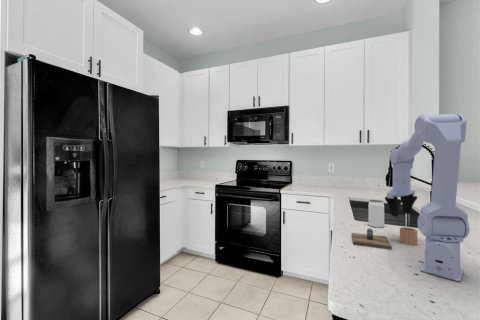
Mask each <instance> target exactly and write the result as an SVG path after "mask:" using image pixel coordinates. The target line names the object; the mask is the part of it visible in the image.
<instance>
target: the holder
mask: <svg viewBox="0 0 480 320" xmlns="http://www.w3.org/2000/svg"><path fill="white" fill-rule="evenodd" d="M351 239H352V244H353V246H354V245H355V246H360V247H370V248H378V249H384V250H385V249H386V250H393V246H392V244H391V243H390V242H389V240H388V238H387V236H384V235H376V234H374V231H373V229H372V228H367V229H366V234H365V233H359V232H358V233H356V232H351Z"/></svg>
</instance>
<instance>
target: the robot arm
mask: <svg viewBox="0 0 480 320" xmlns="http://www.w3.org/2000/svg"><path fill="white" fill-rule="evenodd" d="M467 123H468V122H467V119H466V118H465V117H464V116H463V114H461V113H459V112H458V113H446V114H442V113H441V114H420V115H418V116H417V118H416V119H415V121H414V132H413V134H412V135H411V137H410V138H406V139H405V140H403V142H402V143H401V144H400V145H399V147H398V148H396V149H395V148H392V149H391V151H390V154H389V156H390V157H389V158H390V159H389V160H390V163H391V165H392V189H390V190H389V192H386V196H385V197H384V200H385V202H386V203H387V205H388V207H389V212H390V215H391V216H392V217H396V218H397V217H398V218H399V214H400V208H401V205H402V211H403V214H406V215H411V212H412V209H413V206H414V205H415V202H416V201H417V199H418V196H417V195H416V190H415V189H411V182H412V181H411V179H412V177H411V176H412V174H411V173H412V169H413V167H414V166H413V165H414V162H415V156H416V155H417V154H418V153H420V151H422V148H423V145H422V144H424V143H427V144H430V145H432V146H433V147H434V154H433V155H434V156H433V157H434V158H433V171H432V183H431V198H430V202H429V203H427V204H424V206H423V205H422V207H421V208H420V211H419V215H418V217H417V222H416V223H417V228H418V230H419V233H421V234H422V235H423V236H424V237H425V249H424V263H423V265H422V267H421V268H420V271H421V272H424V273H428V274H431V275H435V276H439V277H442V278H446V279H449V280H452V281H455V282H461V281H462V278H463V277H462V276H463V273H464V268H462V267H461V242H464V239H466V238H467V237H468V235H469V234H470V232H471V231H470V229H471V228H470V224H469V219H468V217H469V215H468V213H466V212H465V210H463V208H460V207H459V206H458V205H456V204H457V192H458V182H459V181H458V180H459V170H460V159H461V148H462V147H461V146H462V144H463V143H465V141H466V133H467ZM399 198H400V199H399Z"/></svg>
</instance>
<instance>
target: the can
mask: <svg viewBox="0 0 480 320" xmlns="http://www.w3.org/2000/svg"><path fill="white" fill-rule="evenodd" d="M367 204H368V207H367V210H368V216H367V217H368V218H367V219H368V226H369V225H370V227H371V226H373V228H376V227H383V228H384V227H385V204H384V200H380V199H369V202H368V203H367Z"/></svg>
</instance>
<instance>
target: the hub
mask: <svg viewBox="0 0 480 320" xmlns="http://www.w3.org/2000/svg"><path fill="white" fill-rule="evenodd" d="M399 242H400V243H402V244H404V245H409V246H417V245H418V229H416V228H413V227H412V228H411V227H405V226H404V227H403V226H402V227H399Z"/></svg>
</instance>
